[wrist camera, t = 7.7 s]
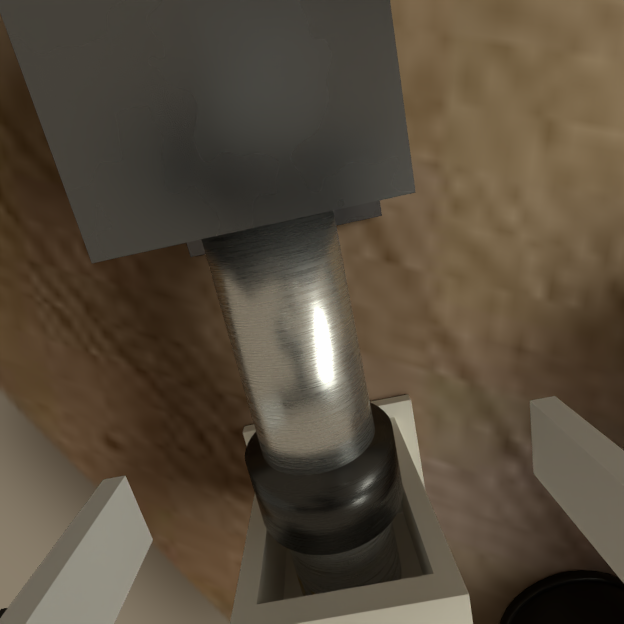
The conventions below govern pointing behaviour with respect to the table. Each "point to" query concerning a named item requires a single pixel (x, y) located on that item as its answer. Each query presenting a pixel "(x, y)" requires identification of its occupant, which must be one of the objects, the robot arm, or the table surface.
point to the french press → (570, 600)
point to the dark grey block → (213, 113)
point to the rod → (309, 403)
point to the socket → (371, 598)
